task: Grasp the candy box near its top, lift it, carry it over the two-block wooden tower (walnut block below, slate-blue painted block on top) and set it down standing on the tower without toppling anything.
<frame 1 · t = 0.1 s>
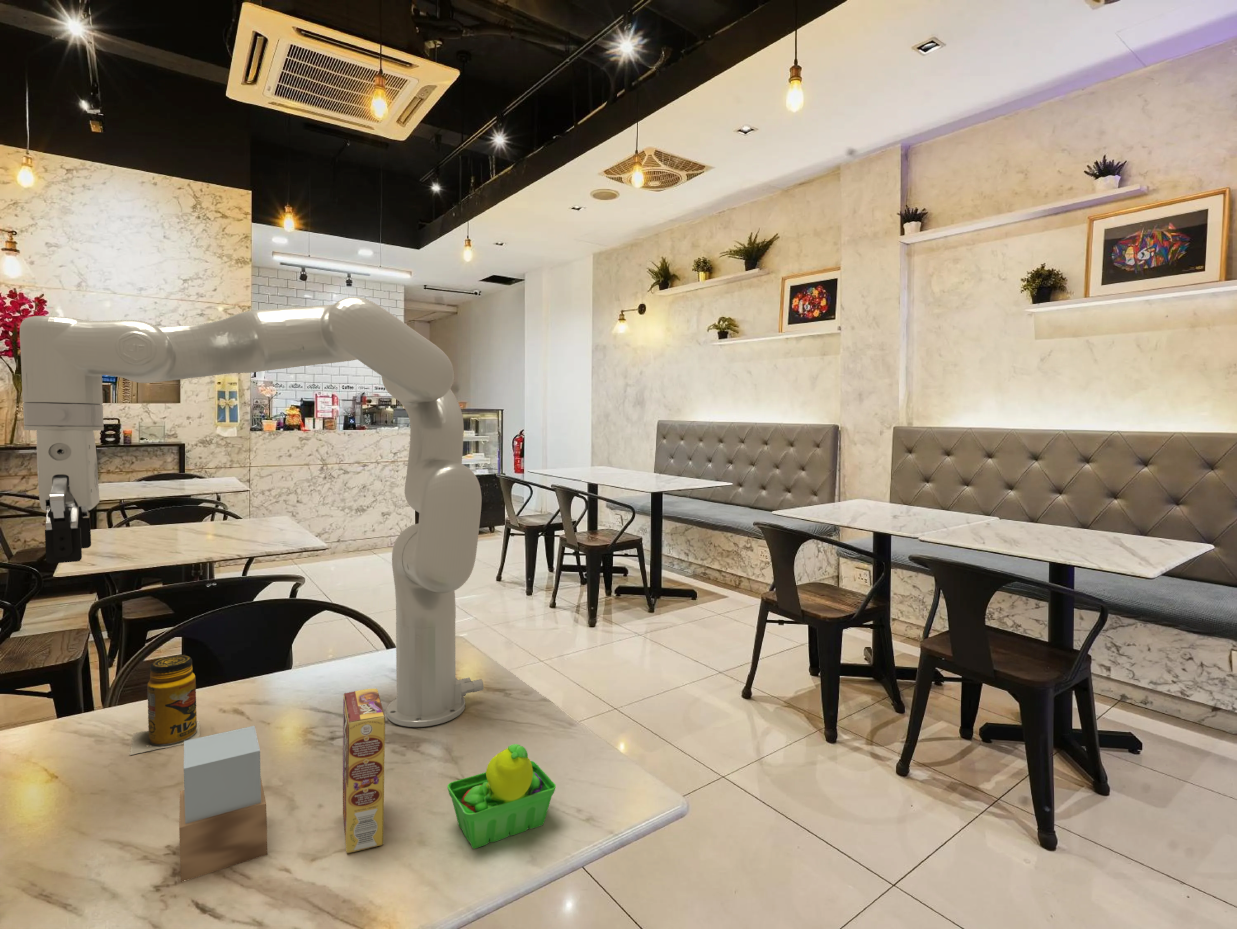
hand: (70, 555, 81), 31 cm above the table, fingers open, 9 cm apart
condiment: (166, 739, 97), on the table
fruit basket: (503, 830, 77), on the table
walnut block: (223, 848, 73), on the table, touching slate block
candy box: (363, 829, 76), on the table
slate block: (222, 797, 72), point 6 cm above the table, touching walnut block
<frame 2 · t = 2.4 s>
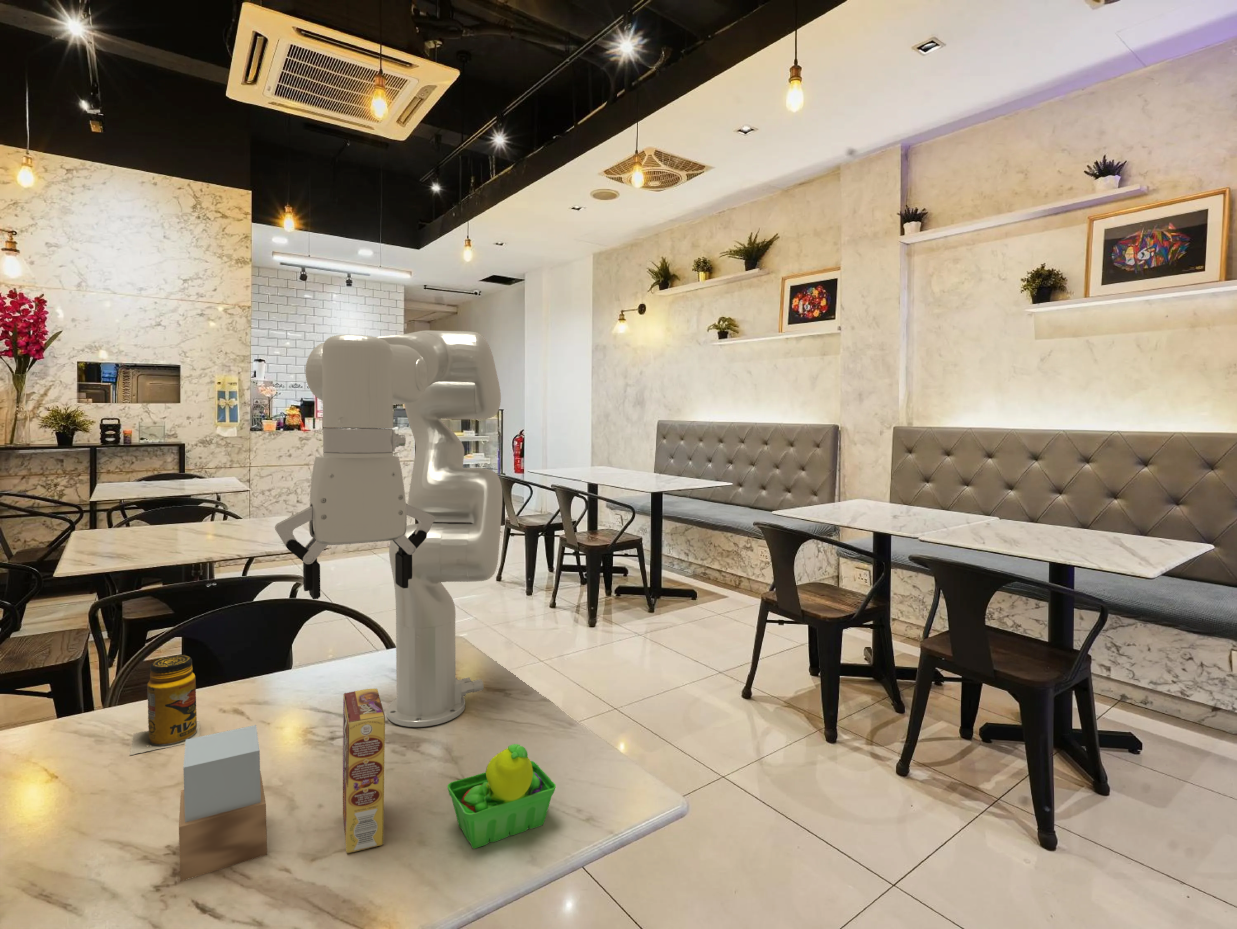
hand: (359, 591, 75), 29 cm above the table, fingers open, 9 cm apart
nothing on the table moved.
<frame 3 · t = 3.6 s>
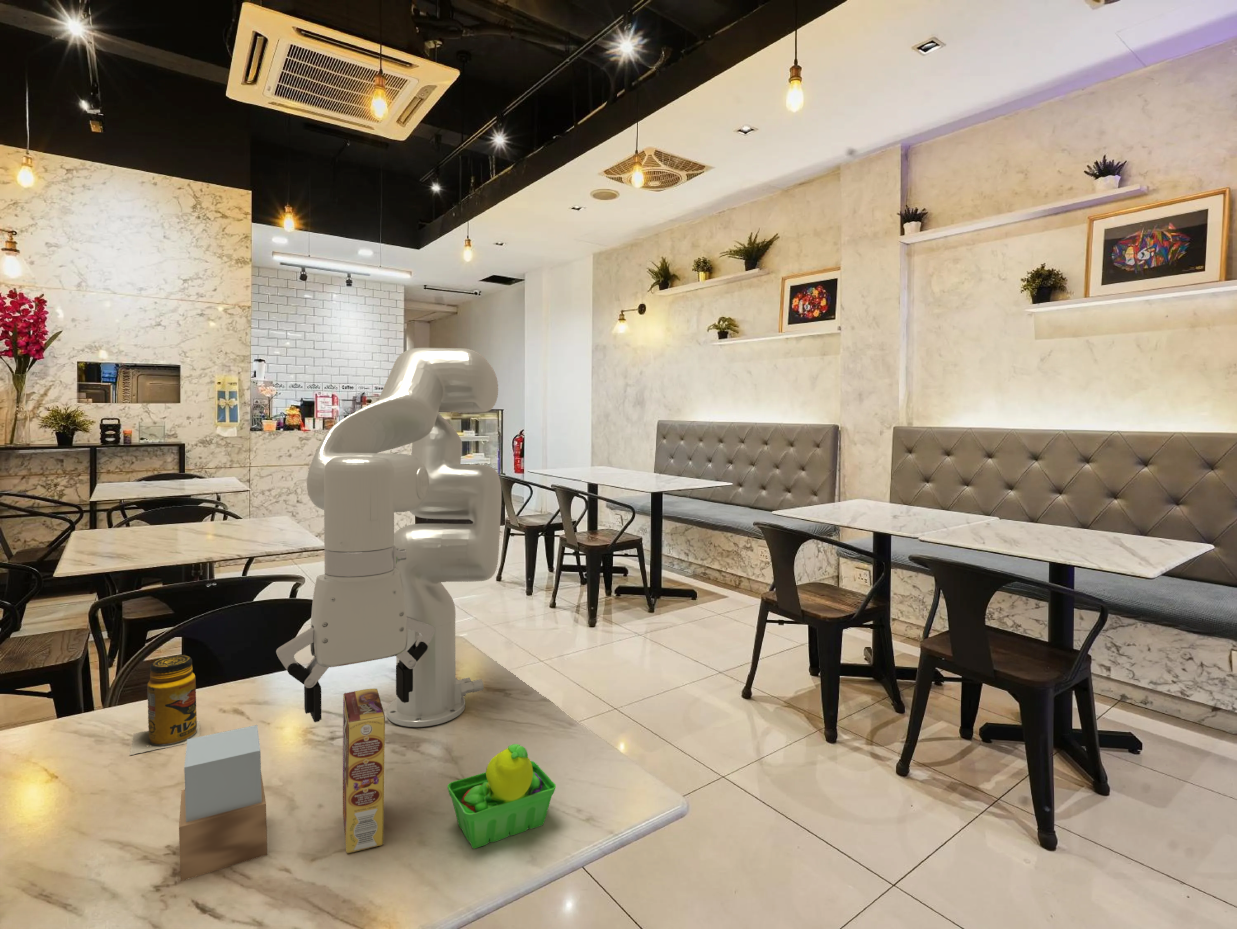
hand: (360, 707, 75), 15 cm above the table, fingers open, 9 cm apart
nothing on the table moved.
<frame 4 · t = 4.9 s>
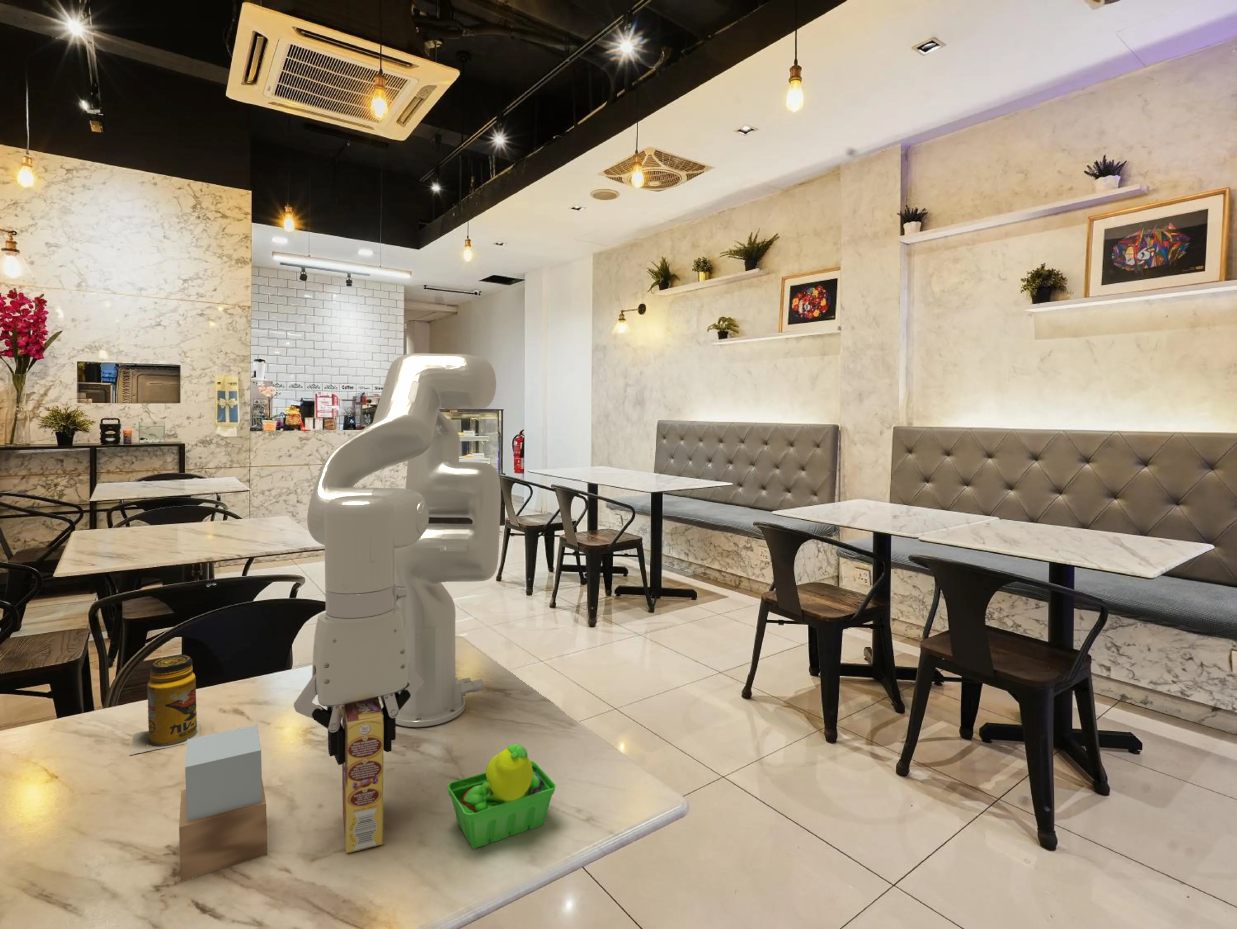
hand: (362, 751, 76), 9 cm above the table, fingers closed on candy box, 4 cm apart
walnut block: (224, 848, 73), on the table
candy box: (363, 829, 76), on the table, touching gripper
slate block: (224, 796, 73), point 6 cm above the table
everything else where it was.
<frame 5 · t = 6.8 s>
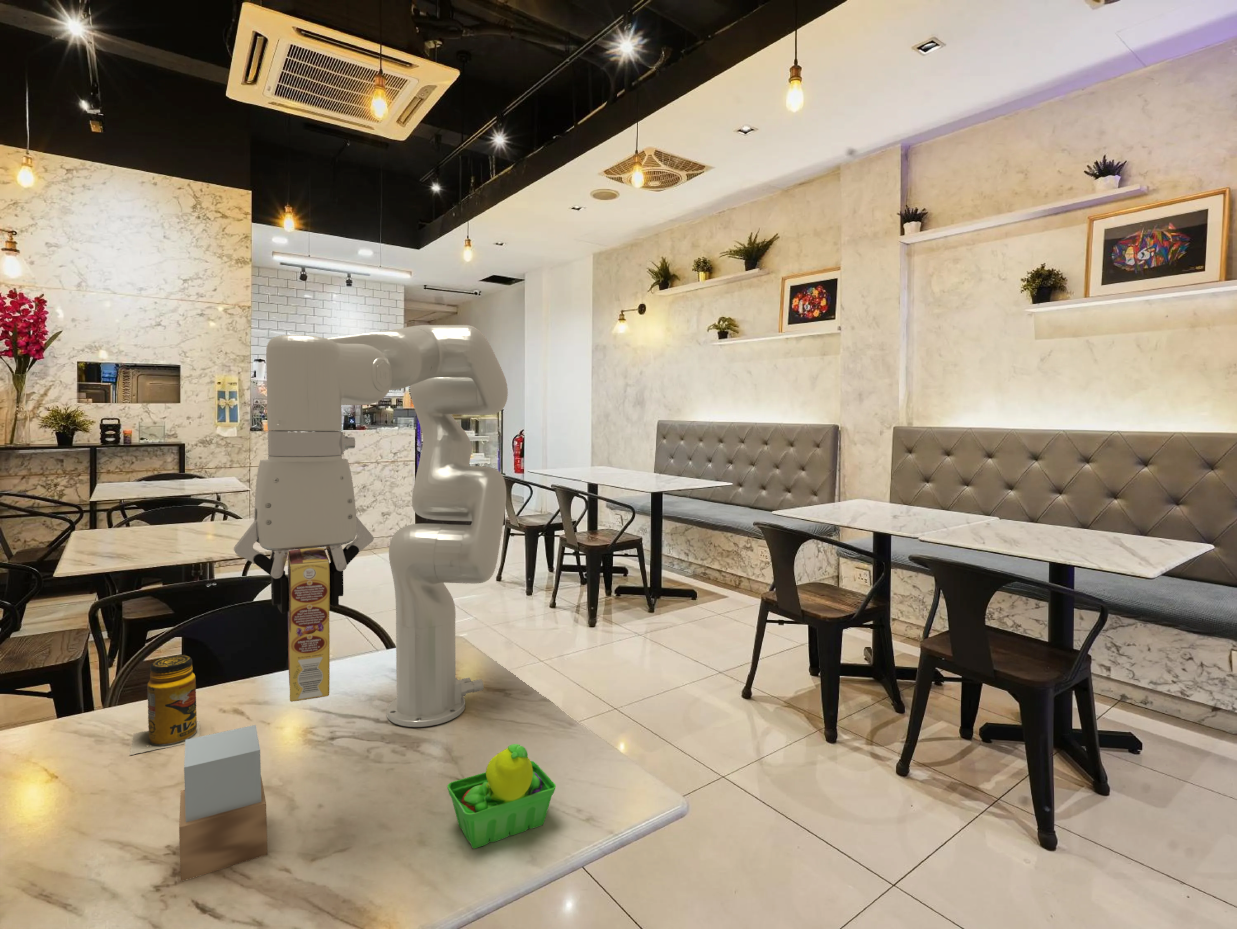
hand: (308, 605, 73), 27 cm above the table, fingers closed on candy box, 4 cm apart
walnut block: (224, 848, 73), on the table, touching slate block
candy box: (310, 687, 74), point 18 cm above the table, touching gripper
slate block: (223, 796, 73), point 6 cm above the table, touching walnut block
everything else where it was.
when the fingers open (22 cm above the table, at t = 8.6 s): candy box stays where it is, resting on slate block.
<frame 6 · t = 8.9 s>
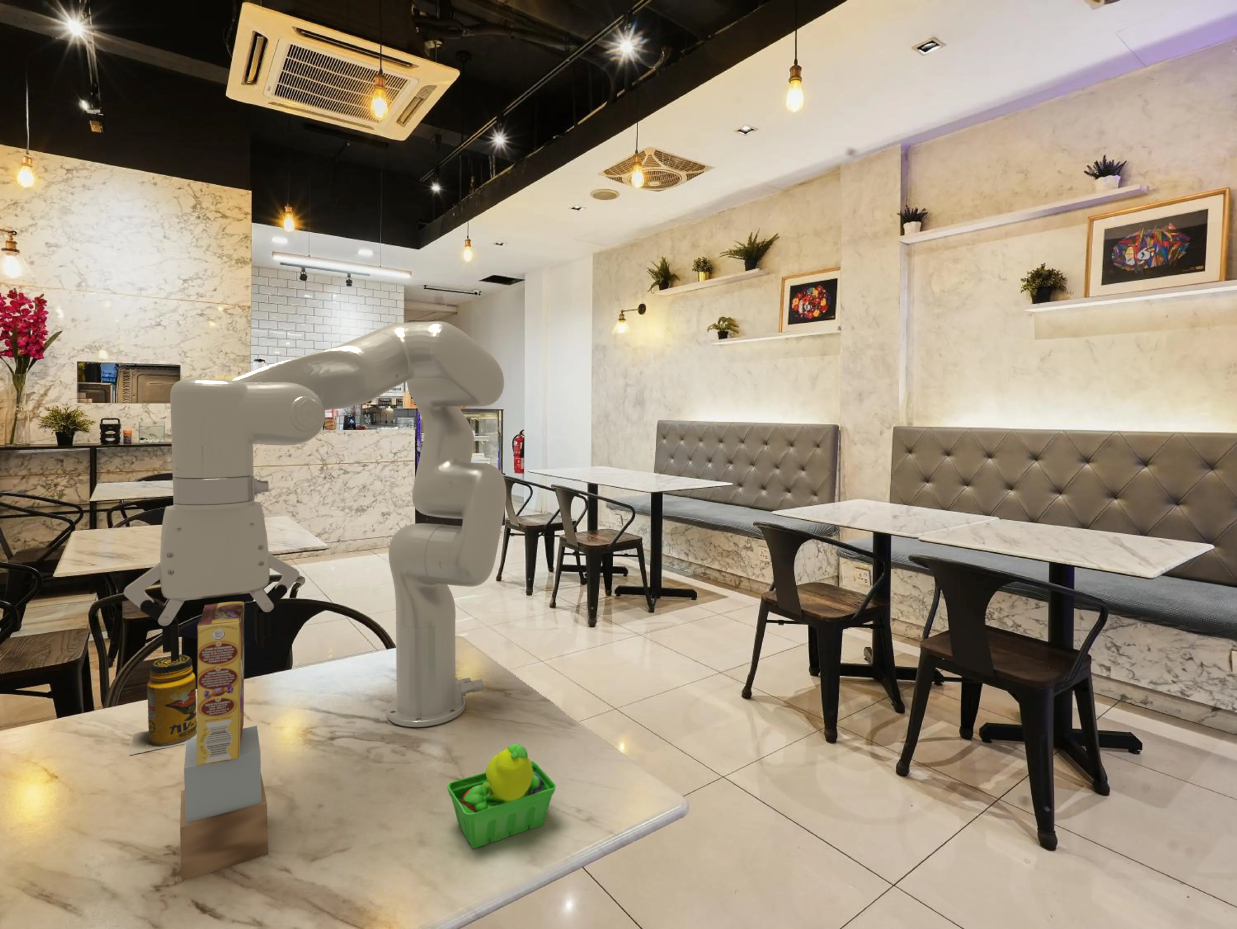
hand: (218, 649, 71), 23 cm above the table, fingers open, 7 cm apart
candy box: (223, 746, 72), point 12 cm above the table, touching slate block
slate block: (224, 797, 72), point 6 cm above the table, touching candy box, walnut block
everything else where it was.
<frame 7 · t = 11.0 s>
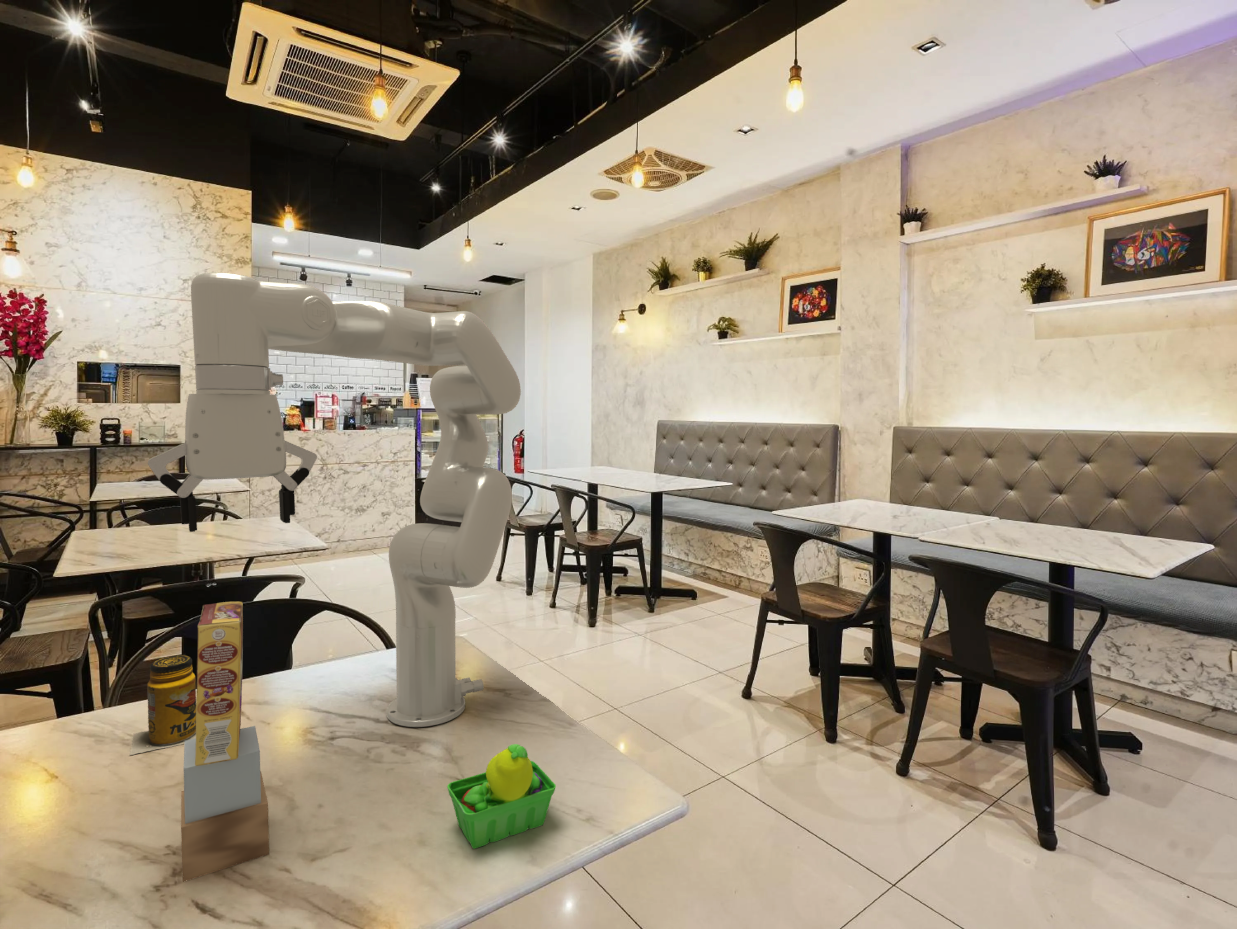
hand: (240, 525, 77), 36 cm above the table, fingers open, 9 cm apart
nothing on the table moved.
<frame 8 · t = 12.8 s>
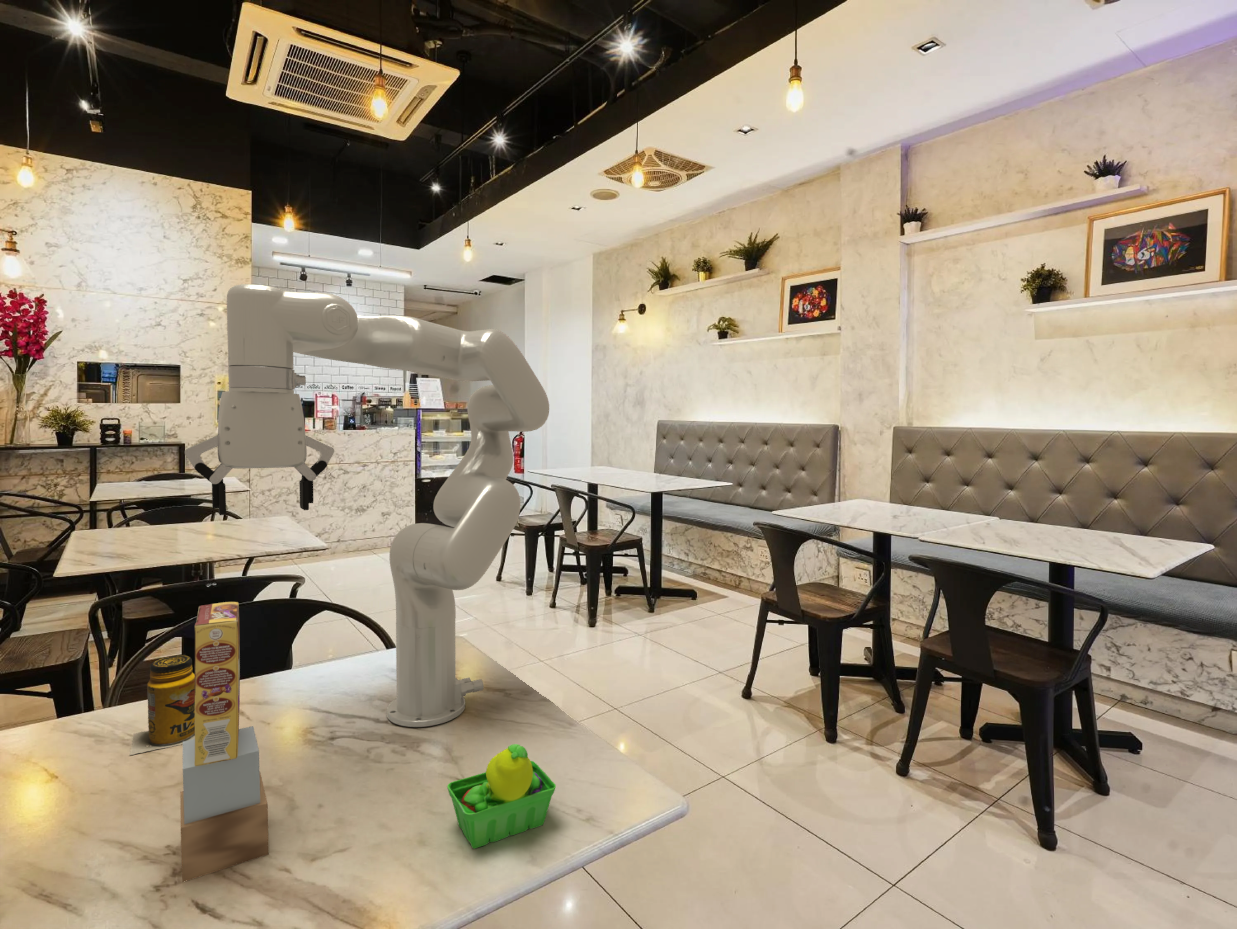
hand: (264, 511, 85), 36 cm above the table, fingers open, 9 cm apart
nothing on the table moved.
at the end: candy box 0.1 cm from the slate block (horizontally); candy box point 11.6 cm above the table; candy box tilted 0° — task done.
